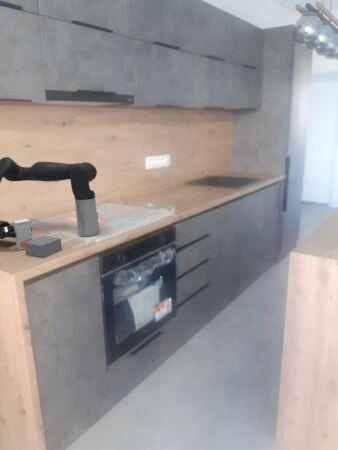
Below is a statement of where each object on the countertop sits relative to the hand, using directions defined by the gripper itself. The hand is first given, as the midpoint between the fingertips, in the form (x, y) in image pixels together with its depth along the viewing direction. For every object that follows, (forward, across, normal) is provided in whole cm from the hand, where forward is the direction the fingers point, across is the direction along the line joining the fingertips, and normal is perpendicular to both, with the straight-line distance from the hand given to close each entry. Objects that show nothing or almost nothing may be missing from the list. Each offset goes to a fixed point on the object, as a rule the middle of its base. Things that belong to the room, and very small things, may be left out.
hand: (23, 232), depth 155 cm
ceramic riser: (+12, +1, -7) cm, 13 cm away
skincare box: (0, 0, -7) cm, 7 cm away
